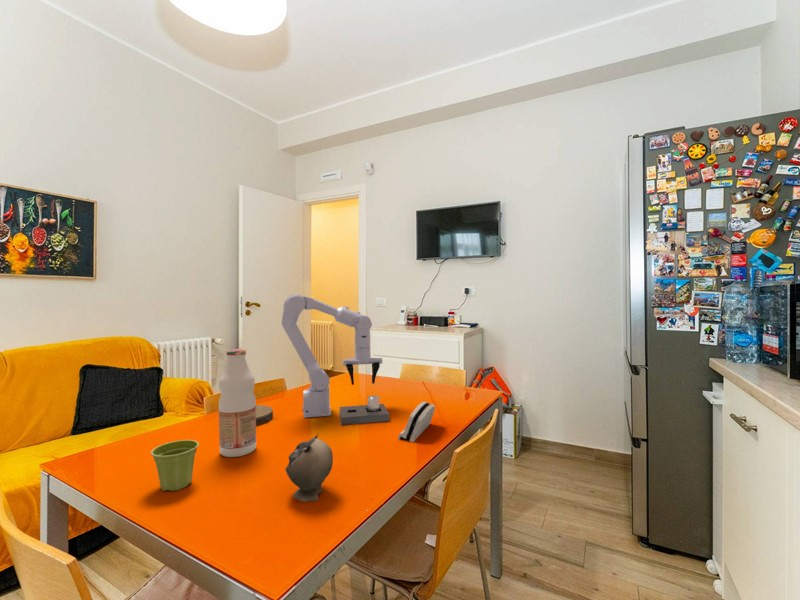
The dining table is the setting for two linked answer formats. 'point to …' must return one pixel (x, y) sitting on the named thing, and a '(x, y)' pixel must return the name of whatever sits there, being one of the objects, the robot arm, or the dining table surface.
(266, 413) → the grey round disc
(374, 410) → the cylinder
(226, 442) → the fruit juice
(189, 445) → the plant pot
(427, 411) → the white black-striped wedge
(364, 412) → the fitting block
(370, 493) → the dining table surface
